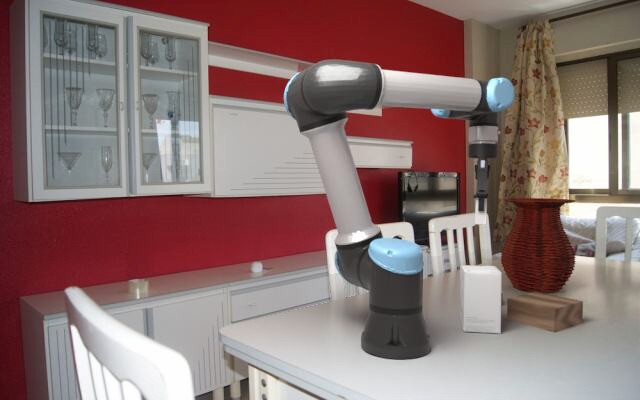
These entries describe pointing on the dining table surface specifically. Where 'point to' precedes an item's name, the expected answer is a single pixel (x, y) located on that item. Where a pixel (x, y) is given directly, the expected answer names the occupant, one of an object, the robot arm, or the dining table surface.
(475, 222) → the robot arm
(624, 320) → the dining table surface
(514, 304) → the walnut base block
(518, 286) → the vase
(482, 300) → the supplement box
